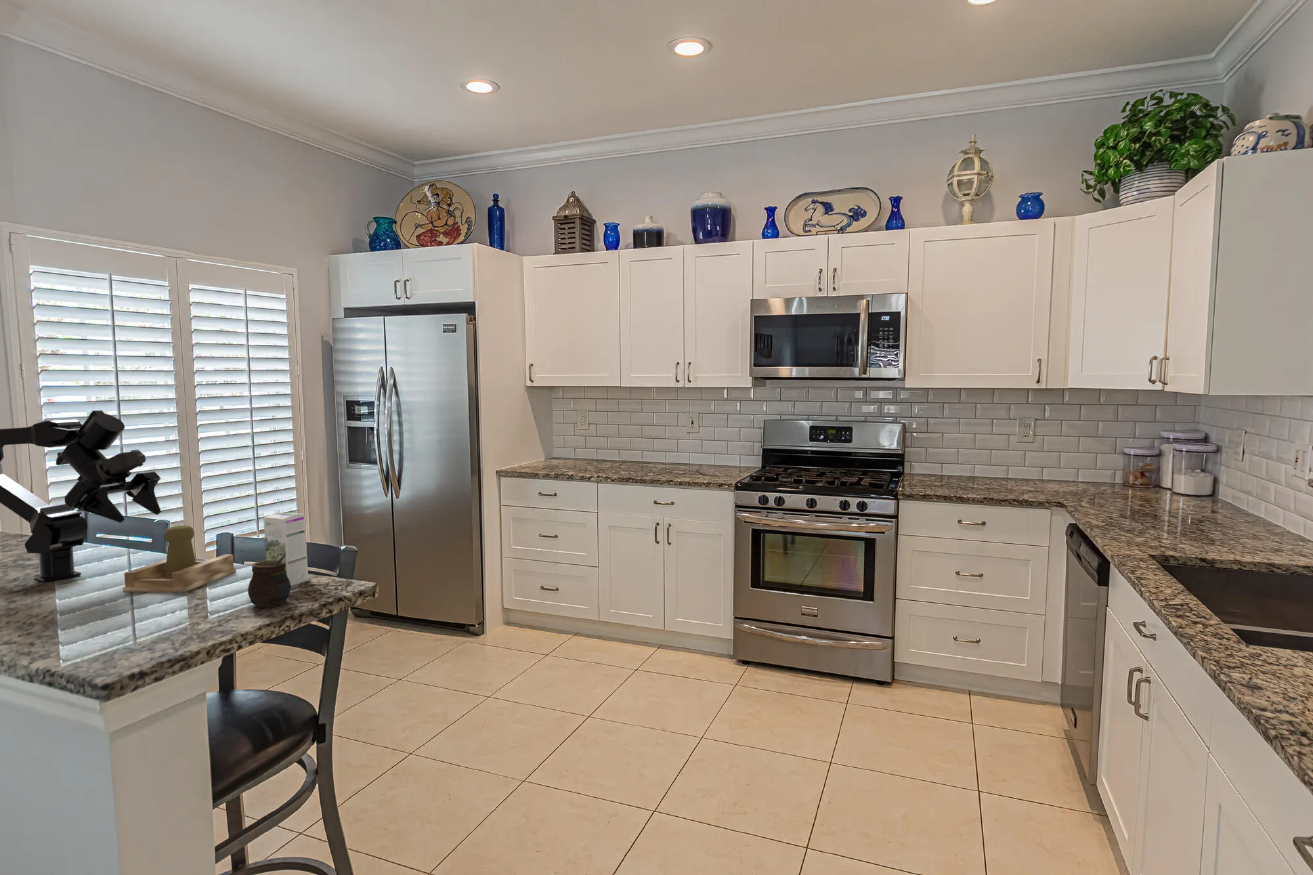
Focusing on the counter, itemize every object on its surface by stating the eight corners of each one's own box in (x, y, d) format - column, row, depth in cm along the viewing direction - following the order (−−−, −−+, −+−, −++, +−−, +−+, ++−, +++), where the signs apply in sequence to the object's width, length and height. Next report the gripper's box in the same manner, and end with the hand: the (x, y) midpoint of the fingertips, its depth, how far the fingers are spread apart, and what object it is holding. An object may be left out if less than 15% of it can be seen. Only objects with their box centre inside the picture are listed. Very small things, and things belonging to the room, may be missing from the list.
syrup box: (309, 580, 151) (306, 512, 150) (286, 587, 146) (283, 517, 145) (288, 578, 153) (285, 511, 152) (265, 585, 148) (262, 516, 147)
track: (179, 570, 160) (179, 554, 160) (236, 571, 159) (235, 554, 159) (123, 591, 144) (121, 572, 144) (185, 591, 143) (184, 573, 143)
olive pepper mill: (193, 579, 150) (191, 527, 149) (160, 582, 148) (157, 529, 147) (202, 572, 155) (199, 522, 155) (169, 574, 154) (167, 524, 153)
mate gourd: (264, 598, 139) (262, 547, 138) (301, 599, 138) (299, 548, 137) (239, 609, 131) (237, 556, 131) (277, 611, 131) (276, 557, 130)
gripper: (73, 441, 142) (126, 497, 141) (150, 435, 161) (197, 484, 160) (40, 480, 144) (93, 536, 143) (121, 470, 162) (168, 519, 161)
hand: (141, 517), depth 152 cm, fingers open, 9 cm apart
